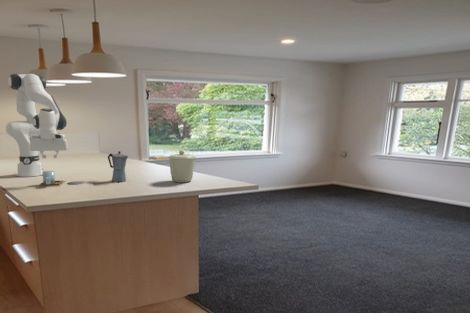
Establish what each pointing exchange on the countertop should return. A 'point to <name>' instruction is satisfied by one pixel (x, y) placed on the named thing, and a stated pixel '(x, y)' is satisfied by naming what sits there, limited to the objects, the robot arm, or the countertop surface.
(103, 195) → the countertop surface
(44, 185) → the holder
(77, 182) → the mat
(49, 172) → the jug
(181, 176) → the canister
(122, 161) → the moka pot
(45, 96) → the robot arm
